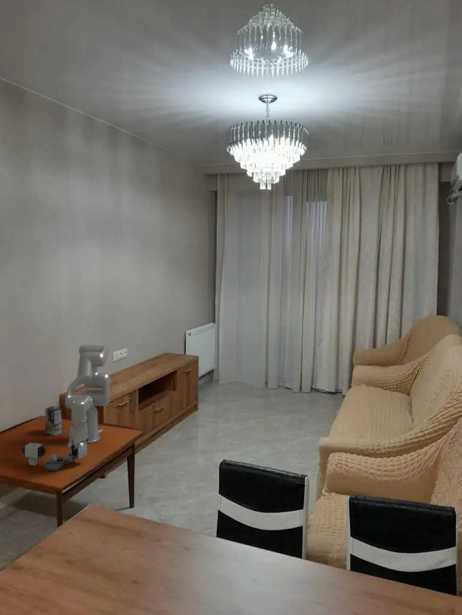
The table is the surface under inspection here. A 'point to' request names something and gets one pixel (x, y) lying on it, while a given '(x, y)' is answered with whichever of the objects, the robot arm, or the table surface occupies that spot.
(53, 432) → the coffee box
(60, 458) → the ratchet
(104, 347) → the robot arm
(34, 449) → the pneumatic valve
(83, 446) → the domed grey cube
